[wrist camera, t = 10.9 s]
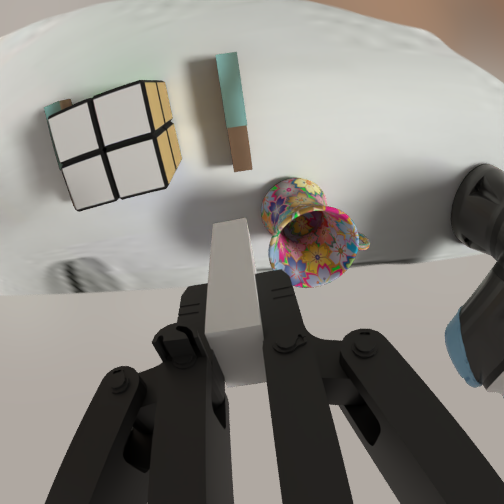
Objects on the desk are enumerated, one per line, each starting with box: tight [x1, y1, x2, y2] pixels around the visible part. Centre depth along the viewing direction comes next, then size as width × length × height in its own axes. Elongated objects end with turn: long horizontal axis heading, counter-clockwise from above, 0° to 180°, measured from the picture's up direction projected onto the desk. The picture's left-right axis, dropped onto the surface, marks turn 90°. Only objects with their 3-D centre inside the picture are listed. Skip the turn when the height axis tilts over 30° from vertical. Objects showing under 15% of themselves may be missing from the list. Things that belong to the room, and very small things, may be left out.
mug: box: [261, 178, 370, 288], centre depth 34 cm, size 12×9×11 cm
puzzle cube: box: [47, 80, 182, 212], centre depth 27 cm, size 10×10×10 cm
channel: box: [44, 52, 252, 206], centre depth 29 cm, size 22×13×3 cm, turn 97°
